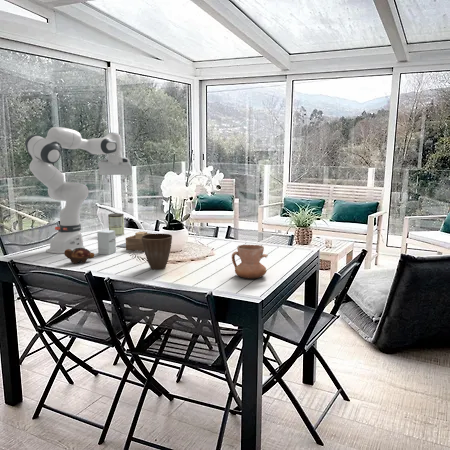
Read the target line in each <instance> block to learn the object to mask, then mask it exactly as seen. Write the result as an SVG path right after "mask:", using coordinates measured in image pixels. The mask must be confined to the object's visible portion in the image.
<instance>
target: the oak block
mask: <svg viewBox="0 0 450 450" xmlns="http://www.w3.org/2000/svg"><path fill="white" fill-rule="evenodd" d="M147 233H148V232H147V231H138V232H135V233H134V235H135V237H136V238H137V239H142V236H144V235H147Z"/></svg>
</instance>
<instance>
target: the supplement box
mask: <svg viewBox="0 0 450 450" xmlns="http://www.w3.org/2000/svg"><path fill="white" fill-rule="evenodd" d="M96 233H97V234H96V235H97V254H98V255H105V256H107V255H109V256H110V255H111V254H114V253H116V251H117V247H116V246H117V244H116V243H117V242H116V241H117V239H116V236H115V231H113V230H109V229H103V230H100V231H97V232H96Z"/></svg>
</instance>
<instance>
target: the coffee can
mask: <svg viewBox="0 0 450 450" xmlns="http://www.w3.org/2000/svg"><path fill="white" fill-rule="evenodd" d="M124 215H125V214H124V213H119V212H117V213H109V214H108V215H107V216H108V217H107V218H108V230H113V231H115V237H119V236H120V237H121V236H124V235H125V224H124V223H125V221H124V219H125V216H124Z"/></svg>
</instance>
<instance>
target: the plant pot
mask: <svg viewBox="0 0 450 450" xmlns="http://www.w3.org/2000/svg"><path fill="white" fill-rule="evenodd" d="M172 240H173V235H172V234H169V233H152V234H148V235H144V236H142V243H143V248H144V251H145V252H144V251H143V252H144V255H145V257H146V260H147V262H148V265H149V267H150V269H151V270H155V271H157V270H164V269H166V267H167V265H168V262H169V258H170V254H171V250H172V249H171V248H172V243H173V242H172Z"/></svg>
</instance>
